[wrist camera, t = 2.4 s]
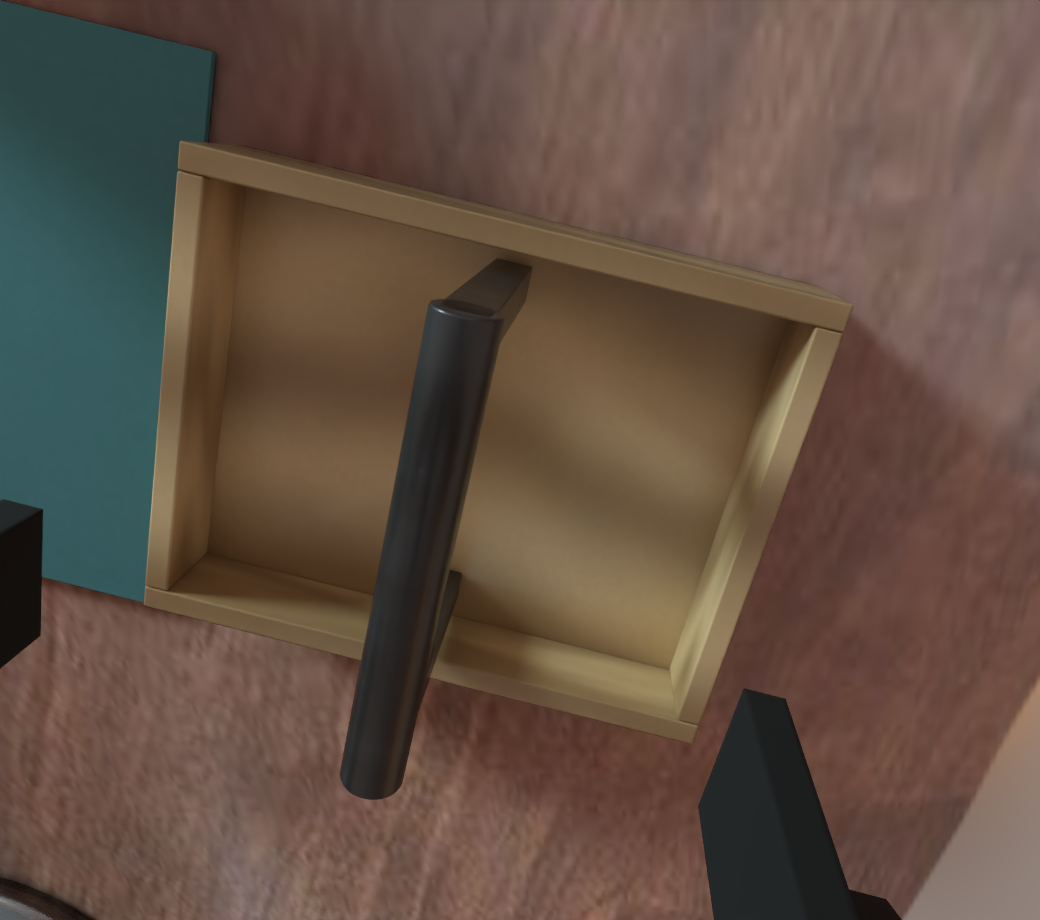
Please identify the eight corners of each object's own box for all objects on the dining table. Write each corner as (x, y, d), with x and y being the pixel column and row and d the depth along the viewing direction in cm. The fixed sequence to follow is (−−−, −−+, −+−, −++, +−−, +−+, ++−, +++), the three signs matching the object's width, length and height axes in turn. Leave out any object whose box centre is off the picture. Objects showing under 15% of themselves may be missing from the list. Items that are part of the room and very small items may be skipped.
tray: (681, 676, 31) (722, 937, 20) (197, 554, 31) (-11, 749, 21) (818, 286, 26) (968, 363, 15) (239, 144, 26) (-9, 123, 16)
